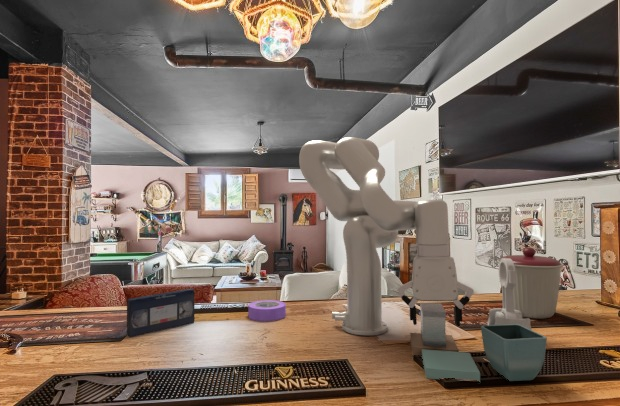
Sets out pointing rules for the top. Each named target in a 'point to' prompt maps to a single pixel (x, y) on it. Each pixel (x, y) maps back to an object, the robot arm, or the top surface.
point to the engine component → (507, 298)
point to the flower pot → (514, 350)
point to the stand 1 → (418, 346)
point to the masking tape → (266, 310)
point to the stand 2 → (449, 365)
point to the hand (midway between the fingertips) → (435, 323)
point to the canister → (535, 284)
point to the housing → (433, 325)
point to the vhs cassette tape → (160, 312)
